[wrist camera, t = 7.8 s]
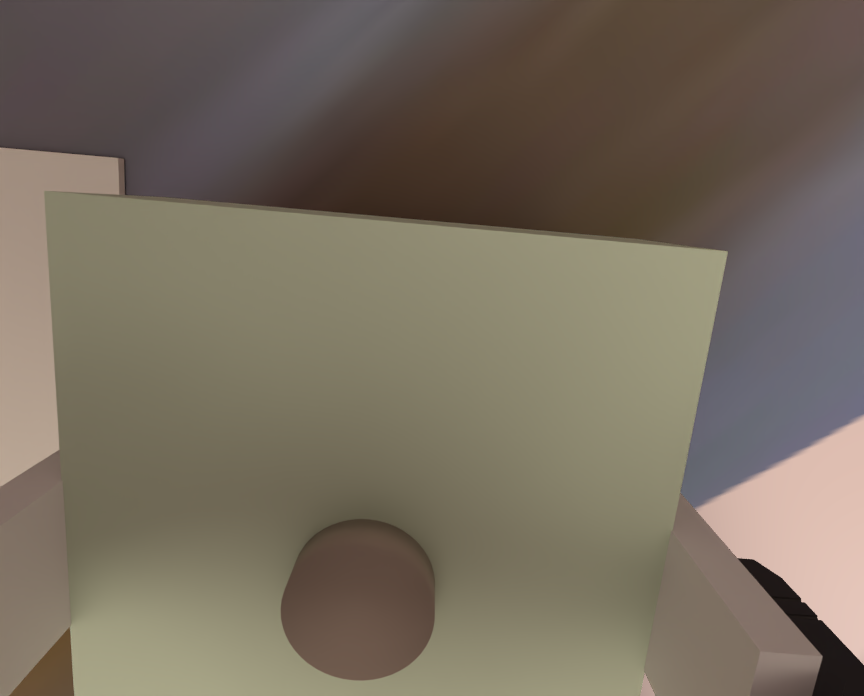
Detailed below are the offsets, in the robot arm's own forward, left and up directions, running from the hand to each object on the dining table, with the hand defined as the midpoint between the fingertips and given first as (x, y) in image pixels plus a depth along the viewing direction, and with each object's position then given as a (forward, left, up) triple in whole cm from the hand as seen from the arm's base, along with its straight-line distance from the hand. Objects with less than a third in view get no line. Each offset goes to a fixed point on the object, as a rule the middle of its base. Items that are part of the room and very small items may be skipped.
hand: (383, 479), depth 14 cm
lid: (0, 0, 0) cm, 0 cm away
